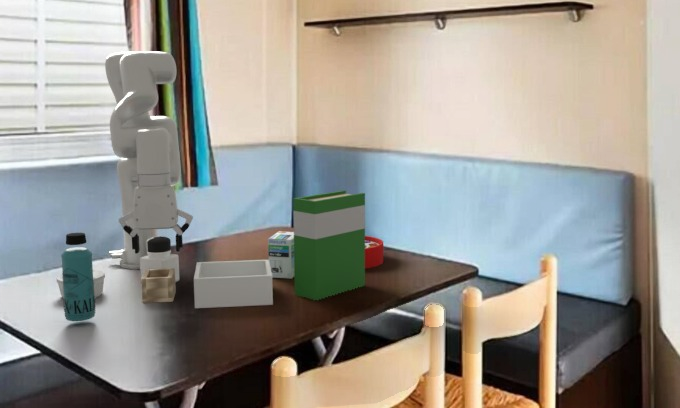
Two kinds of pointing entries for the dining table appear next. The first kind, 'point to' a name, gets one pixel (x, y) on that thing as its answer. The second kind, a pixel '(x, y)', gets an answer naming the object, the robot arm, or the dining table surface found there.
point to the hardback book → (329, 244)
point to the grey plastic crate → (233, 283)
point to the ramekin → (97, 278)
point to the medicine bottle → (159, 256)
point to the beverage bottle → (78, 280)
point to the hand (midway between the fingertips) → (157, 251)
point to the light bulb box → (281, 254)
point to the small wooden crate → (158, 285)
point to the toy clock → (373, 252)
